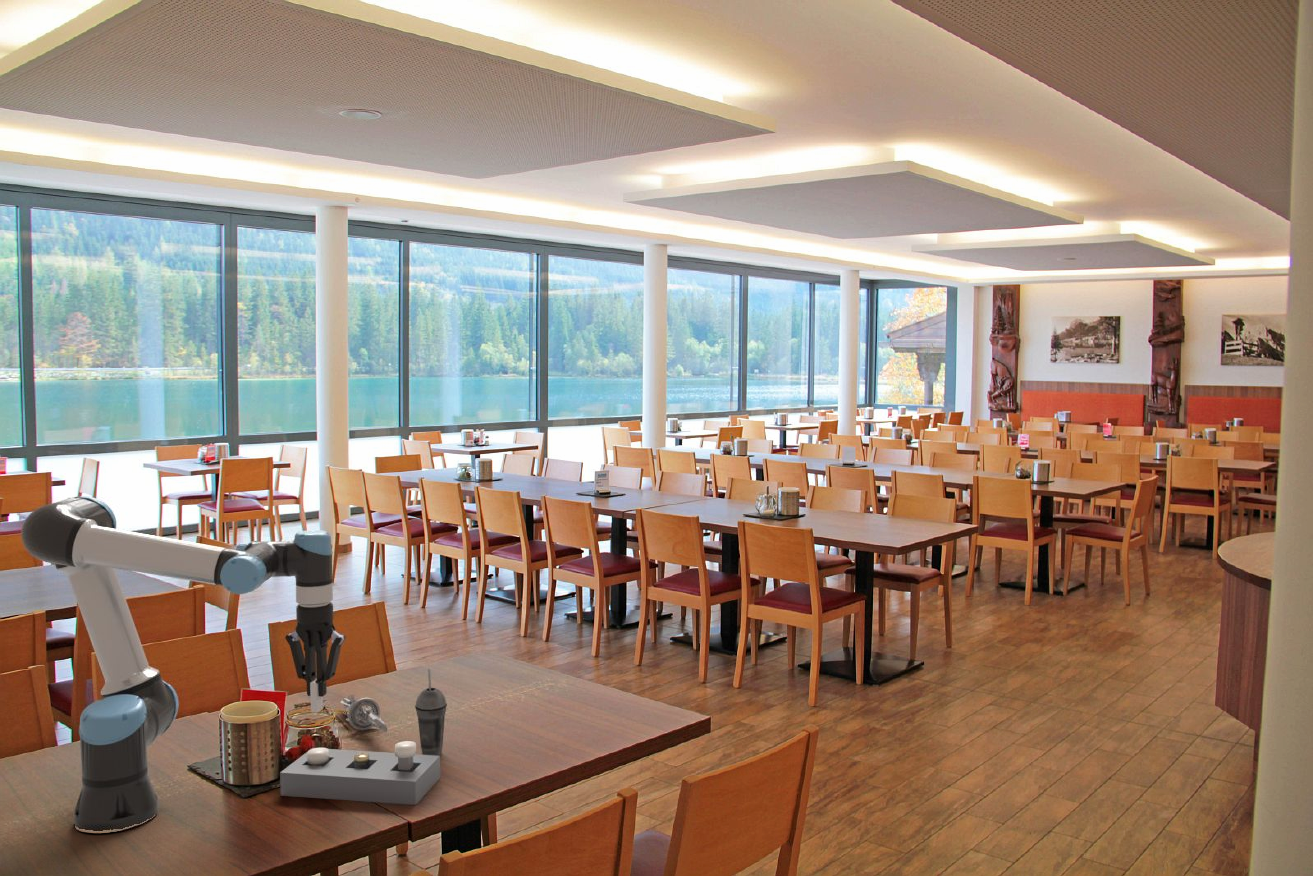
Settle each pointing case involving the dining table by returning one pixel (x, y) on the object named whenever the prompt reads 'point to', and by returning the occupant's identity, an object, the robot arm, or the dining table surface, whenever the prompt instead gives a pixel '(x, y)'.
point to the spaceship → (363, 713)
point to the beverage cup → (431, 719)
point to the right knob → (405, 754)
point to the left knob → (318, 756)
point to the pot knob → (361, 761)
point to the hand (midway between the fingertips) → (317, 710)
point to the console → (361, 778)
